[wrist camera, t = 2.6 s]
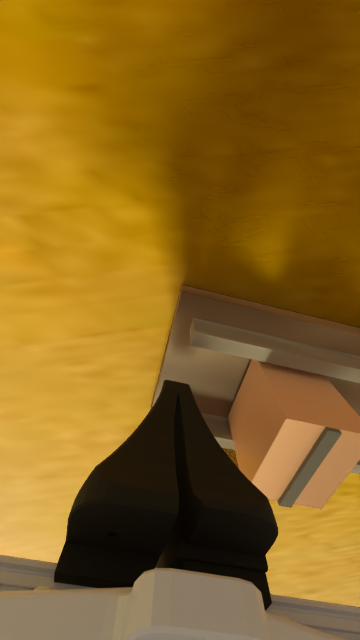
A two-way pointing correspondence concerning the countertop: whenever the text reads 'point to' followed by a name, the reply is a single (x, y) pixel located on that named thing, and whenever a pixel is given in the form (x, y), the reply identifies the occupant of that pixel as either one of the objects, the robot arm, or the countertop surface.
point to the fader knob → (293, 434)
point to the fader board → (251, 351)
